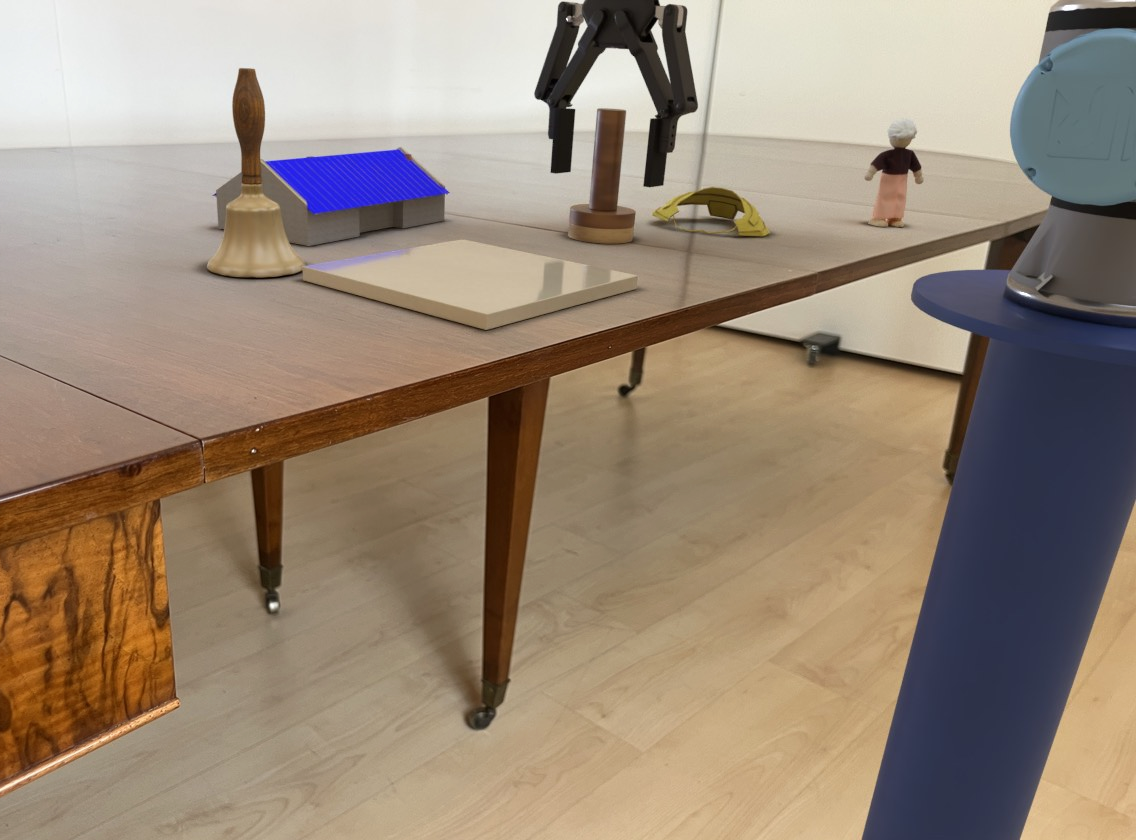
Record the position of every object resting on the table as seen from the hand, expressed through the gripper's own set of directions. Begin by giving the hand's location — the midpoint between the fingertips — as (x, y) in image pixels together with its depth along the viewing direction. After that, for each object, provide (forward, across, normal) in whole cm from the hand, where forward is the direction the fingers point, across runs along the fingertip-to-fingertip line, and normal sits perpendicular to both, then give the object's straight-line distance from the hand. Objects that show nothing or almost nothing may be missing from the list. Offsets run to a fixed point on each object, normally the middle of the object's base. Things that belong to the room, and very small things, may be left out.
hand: (605, 179), depth 105 cm
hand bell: (+6, -10, -38) cm, 40 cm away
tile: (+6, +6, -28) cm, 29 cm away
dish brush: (+6, 0, 0) cm, 6 cm away
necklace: (+6, +4, +18) cm, 19 cm away
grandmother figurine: (+6, +17, +38) cm, 42 cm away
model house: (+6, -22, -18) cm, 29 cm away
